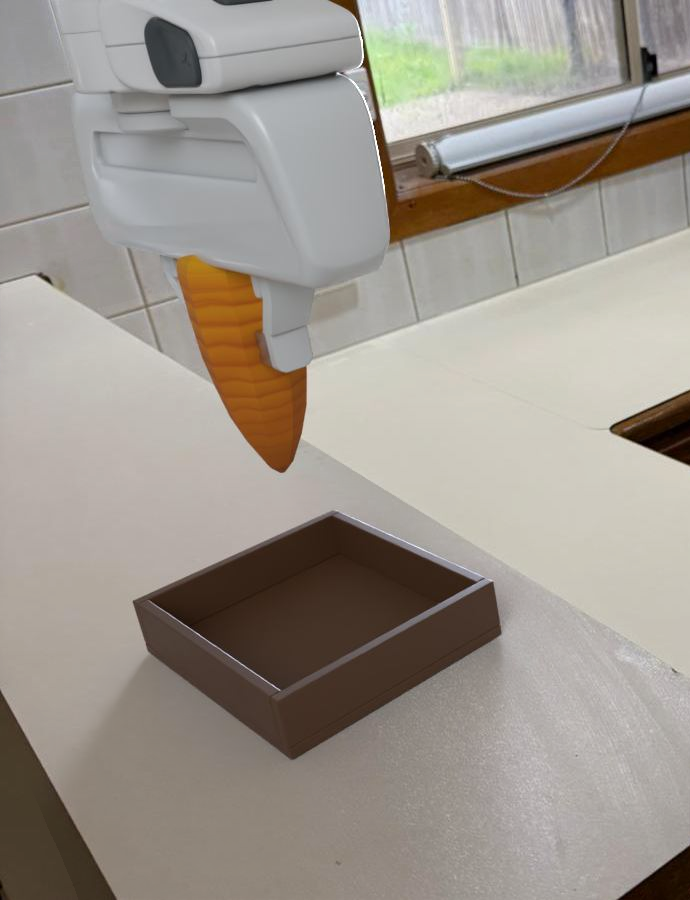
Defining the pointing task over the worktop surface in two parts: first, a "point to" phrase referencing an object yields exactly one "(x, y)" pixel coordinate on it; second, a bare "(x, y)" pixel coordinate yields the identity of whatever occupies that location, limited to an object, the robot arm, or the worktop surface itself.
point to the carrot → (243, 360)
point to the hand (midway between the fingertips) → (254, 355)
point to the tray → (317, 627)
